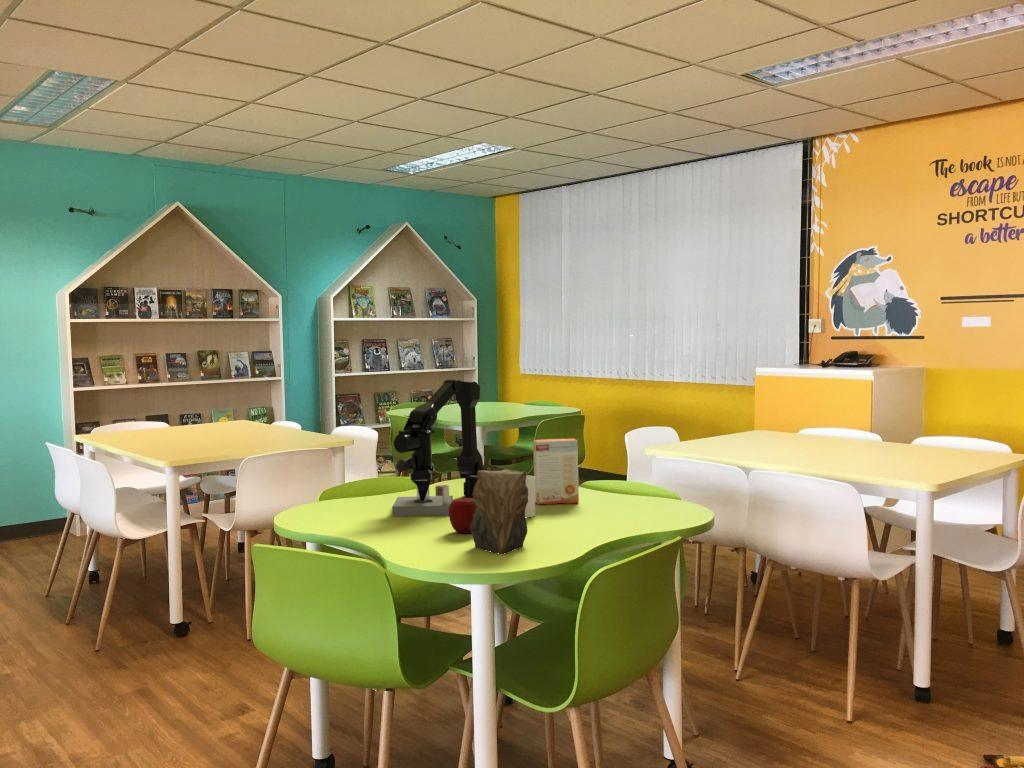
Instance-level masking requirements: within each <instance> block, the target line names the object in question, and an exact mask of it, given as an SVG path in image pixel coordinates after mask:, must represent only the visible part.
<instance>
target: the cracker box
mask: <svg viewBox="0 0 1024 768" xmlns="http://www.w3.org/2000/svg"><path fill="white" fill-rule="evenodd" d="M578 450H579V449H578V440H577V439H576V438H574V437H573V438H547V439H545V438H544V439H534V440H533V476H535V504H536V503H537V504H536V505H539V504H545V505H558V504H557V503H566V504H578V503H577V502H580V501H579V500H580V496H579V495H580V494H579V452H578ZM539 506H540V505H539Z"/></svg>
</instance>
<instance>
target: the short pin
mask: <svg viewBox="0 0 1024 768" xmlns="http://www.w3.org/2000/svg"><path fill="white" fill-rule="evenodd" d="M443 485H444V484H440V485H439V484H438V485H436V486H435V488H434V489H435V491H434V492H435V496H443Z"/></svg>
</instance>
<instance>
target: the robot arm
mask: <svg viewBox="0 0 1024 768" xmlns="http://www.w3.org/2000/svg"><path fill="white" fill-rule="evenodd" d="M480 394H481V387H480V384H478V382H476V381H462V380H460V379H455V378H454V379H453V378H452V379H450V378H448V379H445V380H443V383H442V385H441V386H440V387H439V388H438V389H437V390H436V391H435V392H434V393H433V394H432V395H431V397H430V398H429V399H428V400H427V401H426V402H424V403H423V404H419V405H418V406H416V407H414V408H413V409H412V410H411V411H410V413H409V415H408V418H407V421H406V422H405V425H404V427H403V429H402V430H398V434H397V435H396V436H395V437H394V441H393V447H394V449H395V451H396V452H397V453H399V454H403V453H409V452H413V453H412V454H411V456H409V457H407V458H405V459H404V458H402V459H398V461H396V463H395V464H394V465H395V469H396V470H397V472H398V474H401V473H403V472H406V471H408V470H410V469H411V472H410V480H411V482H412V483H413V484H414V485H416V489H417V488H418V492H419V496H420V500H421V501H424V499H425V497H426V494H427V491H428V488H429V489H430V485H431V482H432V478H433V476H434V474H435V473H434V472H435V464H434V463H433V460H432V455H433V451H432V435H433V434H436V431H435V430H434V428H432V427H433V426H434V424H435V422H436V421H437V419H438V414H439V412H440V411H441V410H442V408H443V407H444V406H446V404H447V403H448V402H449V401H450V399H451V398H452V397H453V396H454V397H455V400H456V403H457V405H458V406H459V408H460V423H461V425H460V426H461V443H462V445H461V447H462V449H461V451H460V454H458V455H456V461H457V463H456V464H457V465H456V467H457V469H458V473H459V477H460V479H464V482H463V496H464V498H473V491H474V487H475V485H476V483H477V481H478V475H477V471H479V470H480V471H481V470H486V471H489V470H488V469H487V467H486V466H485V465H484V462H483V461H484V460H483V456H482V454H481V453H480V451H479V450H478V440H477V438H478V437H477V416H476V415H477V413H476V407H477V404H478V403H479V401H480V398H481V397H480V396H481V395H480Z"/></svg>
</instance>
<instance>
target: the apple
mask: <svg viewBox="0 0 1024 768" xmlns="http://www.w3.org/2000/svg"><path fill="white" fill-rule="evenodd" d="M476 509H477V508H476V506H475V504H474V502H473V497H472V498H465V497H464V496H461V498H460V497H459V498H453V501H452V502H451V503H450V505H449V515H448V518H449V521H450V524H451V527H452V529H453V530H454V531H455V532H456V533H460V534H469V533H472V532H471V529H470V525H471V522H472V519H473V515H474V513H475V510H476Z"/></svg>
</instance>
